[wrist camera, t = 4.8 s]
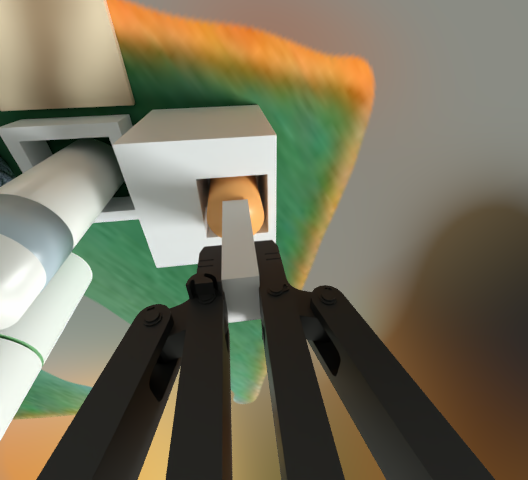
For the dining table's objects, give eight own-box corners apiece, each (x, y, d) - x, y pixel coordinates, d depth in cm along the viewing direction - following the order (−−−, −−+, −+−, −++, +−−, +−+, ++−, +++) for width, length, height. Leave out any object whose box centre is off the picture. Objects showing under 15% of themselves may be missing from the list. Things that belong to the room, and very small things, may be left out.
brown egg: (213, 200, 22) (211, 243, 17) (207, 158, 20) (202, 193, 15) (256, 197, 22) (265, 238, 18) (254, 155, 20) (263, 189, 15)
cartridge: (80, 193, 25) (-66, 338, 13) (54, 139, 22) (-172, 259, 10) (134, 189, 26) (45, 326, 13) (115, 136, 23) (-23, 246, 10)
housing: (71, 212, 26) (5, 282, 18) (19, 116, 21) (-105, 156, 13) (261, 197, 28) (275, 256, 20) (258, 104, 23) (276, 135, 15)
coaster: (6, 109, 21) (0, 111, 20) (-102, -84, 15) (-113, -89, 14) (135, 103, 22) (133, 105, 21) (83, -82, 16) (78, -86, 15)
